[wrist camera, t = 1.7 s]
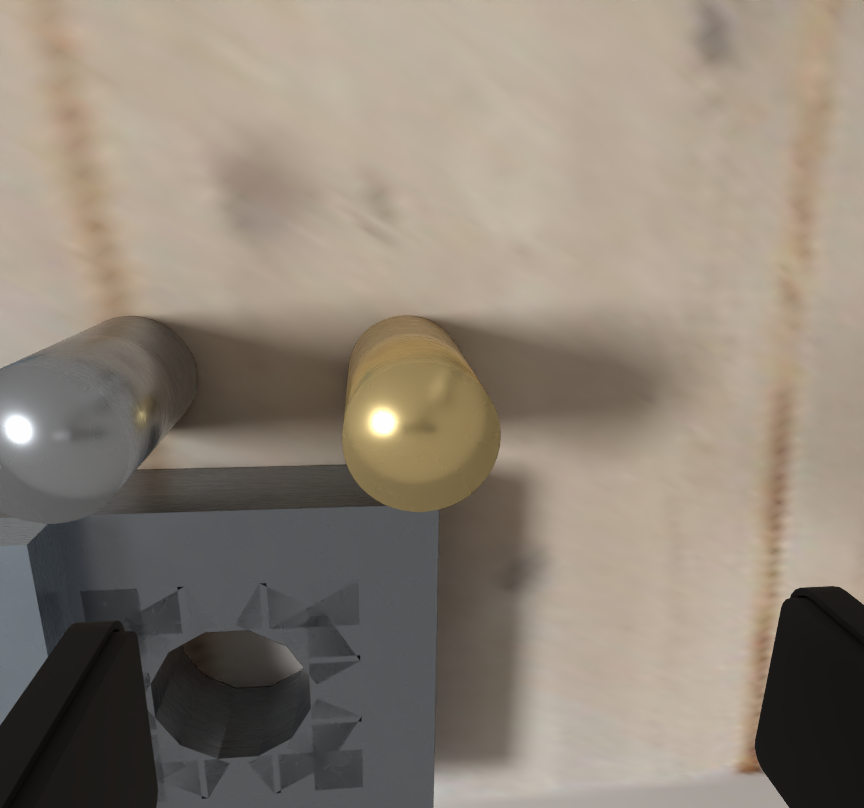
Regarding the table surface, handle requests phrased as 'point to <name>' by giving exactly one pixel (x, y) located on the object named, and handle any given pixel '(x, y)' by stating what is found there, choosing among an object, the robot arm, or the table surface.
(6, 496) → the metal cylinder plug
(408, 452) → the brass cylinder plug
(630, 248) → the table surface
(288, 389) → the table surface
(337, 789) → the jig
